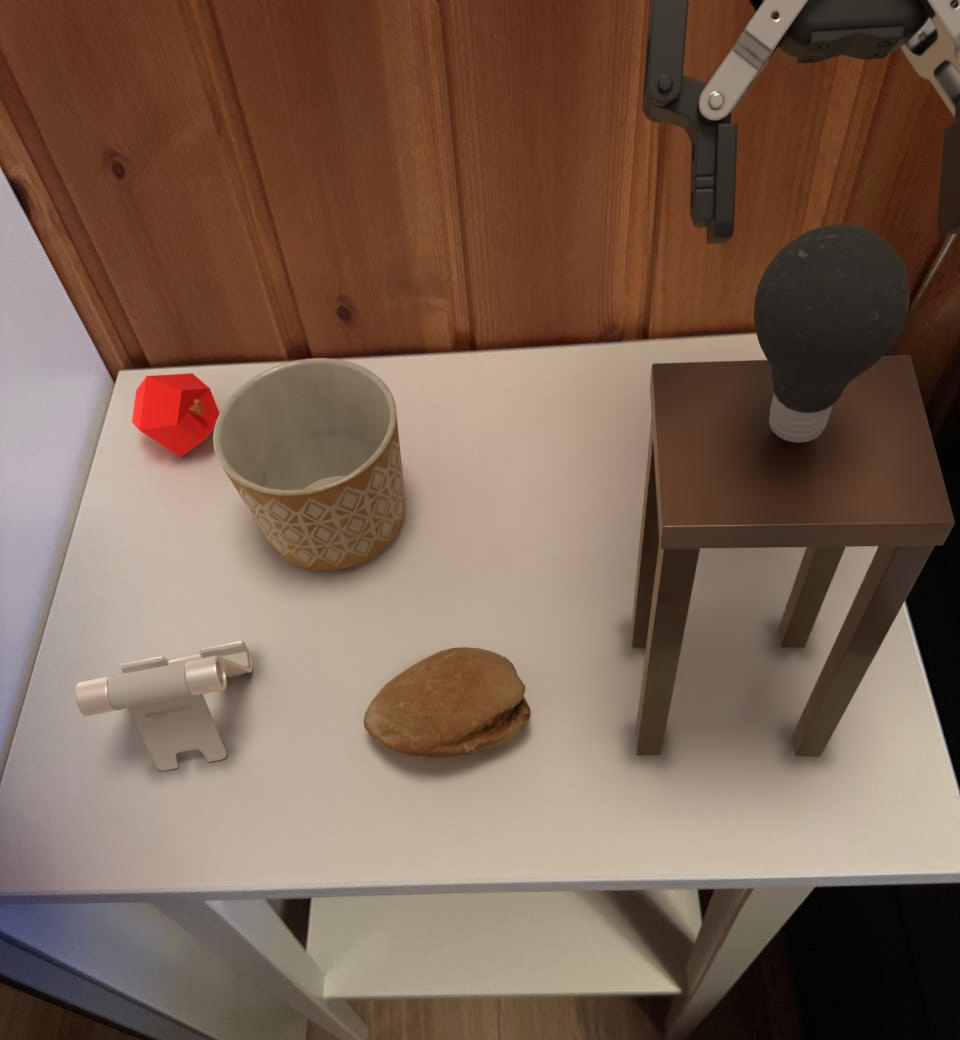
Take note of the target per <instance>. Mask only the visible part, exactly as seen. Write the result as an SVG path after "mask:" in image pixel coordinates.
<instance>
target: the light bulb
mask: <svg viewBox="0 0 960 1040" xmlns="http://www.w3.org/2000/svg"><path fill="white" fill-rule="evenodd" d="M904 263H905V262H903V260H902V258H901V256H900V255H899V253H898V251H897V250H896V249H895V248H894V247H893V246H892V244H890V242H888V241H887V239H885V237H883V235H881V234H879V233H877V232H875V231H873V230H870V229H868V228H865V227H862V226H860V225H855V224H847V223H846V224H845V223H837V224H830V225H822V226H820V227H817V228H814V229H811V230H810V229H809V230H807V231H806V232H804V233H802V234H800V235H799V236H797V237H796V238H794V239H792V240H791V241H790V242H788V243H787V244H786V245H785V246H784V247H782V248H781V249H780V250H779V251H778V252H777V254H775V256H774V257H773V259H772V260H771V261H770V262H769V264H768V265H767V266H766V268H765V270H764V271H763V274H762V276H761V278H760V281H759V283H758V285H757V289H756V294H755V297H754V303H753V304H754V305H753V324H754V329H755V333H756V338H757V342H758V344H759V346H760V349H761V351H762V353H763V354H764V355H763V356H764V357H765V358H766V360H768V362H769V364H770V366H771V369H772V386H773V390H774V394H773V399H772V404H771V407H770V418H769V424H770V427H771V429H772V430H773V432H774V433H775V434H776V435H777V436H779V437H780V438H782V439H784V440H787V441H790V442H807V441H810V440H813V439H815V438H817V437H818V436H819V435H820V434H821V433H822V431H823V429H824V428H825V427H826V425H827V423H828V418H829V416H830V413H831V410H832V406H833V404H834V403H835V402H836V401H837V400H838V399H839V397H840V396H841V394H842V392H843V391H844V389H845V387H846V386H847V385H848V384H849V383H850V382H851V381H852V380H853V379H855V378H856V377H858V376H859V375H860V374H862V373H863V372H865V371H866V370H868V369H869V368H870V367H872V366H873V365H874V364H876V363H877V362H878V361H879V360H880V358H881V357H882V356H885V354H886V353H887V352H888V351H889V350H890V349H891V347H893V344H894V343H895V341H896V340H897V338H898V336H899V334H900V333H901V331H902V330H903V327H904V324H905V322H906V318H907V314H908V311H909V308H910V297H911V290H910V279H909V276H908V273H907V268H906V265H905V264H904Z"/></svg>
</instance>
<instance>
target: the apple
mask: <svg viewBox="0 0 960 1040" xmlns="http://www.w3.org/2000/svg"><path fill="white" fill-rule="evenodd" d="M219 414H220V410H219V408H218V405H217V403H216V400H215V398H214V395H213V392H212V390H211V388H210V387H209V386H208V385H207V384H206V383H205V382H204V381H202V379H200V378H199V377H197V376H196V375H195V373H193V372H189V373H173V374H158V375H157V374H156V375H146V376H145V378H144V379H143V380H142V382H141V383H140V384H139V385H138V386H137V388H136V390H135V396H134V404H133V412H132V418H131V423H132V424H133V425H134V427H136V428H137V429H138V431H139V432H141V433H142V434H144V435H145V436H148V437H149V438H150V439H152V440H153V441H155V442H157V444H159V445H161V446H162V447H164V448H166V449H167V450H169V451H170V452H171V453H173V454H174V455H176V456H178V457H179V458H181V457H183V456H185V455H186V454H188V453H189V452H190V451H192V450H193V449H195V448H196V447H197V446H198V445H200V444H201V443H203V442H204V441H205V440H206V439H207V437H209V435H211V433H212V432H213V431H214V428H215V424H216V421H217V418H218V416H219Z"/></svg>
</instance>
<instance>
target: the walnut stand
mask: <svg viewBox="0 0 960 1040" xmlns="http://www.w3.org/2000/svg"><path fill="white" fill-rule="evenodd" d="M773 394H774V390H773V386H772V369H771V366H770V364H769V362H768V360H767V359H751V360H747V359H746V360H719V361H689V362H686V361H685V362H658V363H657V362H656V363H652V364H651V370H650V382H649V397H650V412H651V417H650V427H649V438H648V448H647V459H646V460H647V461H646V468H645V469H646V470H645V477H644V478H645V480H644V481H645V482H644V489H643V498H642V500H643V501H642V510H641V519H640V530H639V531H640V532H639V540H638V541H639V542H638V550H637V551H638V552H637V560H636V561H637V563H636V572H635V583H634V584H635V585H634V594H633V601H632V602H633V604H632V614H631V625H630V642H631V649H645V653H644V662H643V667H642V677H641V683H640V684H641V686H640V691H639V699H638V709H637V715H636V722H635V723H636V724H635V732H634V736H635V755H636V756H661V755H662V753H663V746H664V742H665V737H666V731H667V727H668V720H669V716H670V711H671V706H672V705H671V704H672V700H673V694H674V690H675V683H676V678H677V673H678V669H679V662H680V658H681V652H682V647H683V643H684V636H685V630H686V626H687V620H688V616H689V610H690V604H691V599H692V594H693V590H694V588H693V587H694V584H695V578H696V572H697V568H698V562H699V558H700V553H701V549H702V550H703V549H770V548H771V549H774V548H775V549H776V548H782V549H783V548H805V550H804V553H803V556H802V559H801V562H800V564H799V567H798V570H797V573H796V576H795V579H794V582H793V585H792V587H791V591H790V593H789V596H788V599H787V602H786V605H785V607H784V610H783V612H782V613H783V614H782V616H781V619H780V621H779V624H778V627H777V628H778V629H777V630H778V637H779V644H780V648H783V649H784V648H785V649H787V648H788V649H790V648H791V649H792V648H794V649H798V648H806V645H807V643H808V641H809V638H810V636H811V633H812V630H813V628H814V626H815V623H816V621H817V619H818V616H819V614H820V611H821V609H822V606H823V604H824V601H825V600H826V596H827V594H828V592H829V589H830V587H831V583H832V582H833V579H834V576H835V574H836V572H837V569H838V567H839V564H840V563H841V560H842V557H843V555H844V553H845V550H846V548H847V547H849V548H850V547H852V548H855V547H857V548H858V547H877V549H876V551H875V553H874V554H873V557H872V560H871V562H870V564H869V566H868V568H867V571H866V573H865V575H864V577H863V580H862V581H861V583H860V585H859V588H858V590H857V592H856V594H855V597H854V599H853V601H852V604H851V605H850V607H849V610H848V612H847V614H846V617H845V618H844V621H843V623H842V625H841V628H840V630H839V632H838V634H837V636H836V637H835V638H836V639H835V641H834V642H833V645H832V647H831V649H830V651H829V654H828V655H827V658H826V660H825V662H824V665H823V666H822V669H821V672H820V674H819V676H818V678H817V680H816V682H815V684H814V687H813V688H812V690H811V693H810V696H809V698H808V699H807V702H806V704H805V706H804V708H803V711H802V713H801V715H800V717H799V719H798V722H797V724H796V726H795V728H794V731H793V732H792V738H793V747H794V753H795V756H796V757H822V755H823V754H824V752H825V750H826V748H827V746H828V744H829V742H830V740H831V738H832V737H833V735H834V733H835V731H836V729H837V727H838V725H839V723H840V722H841V720H842V718H843V716H844V714H845V712H846V710H847V709H848V707H849V705H850V703H851V702H852V700H853V698H854V696H855V694H856V693H857V690H858V689H859V686H860V685H861V683H862V682H863V679H864V678H865V676H866V674H867V672H868V670H869V668H870V666H871V664H872V662H873V661H874V659H875V657H876V655H877V653H878V652H879V650H880V648H881V646H882V644H883V642H884V640H885V639H886V637H887V635H888V633H889V631H890V629H891V628H892V625H893V624H894V622H895V620H896V618H897V616H898V614H899V613H900V611H901V609H902V607H903V605H904V603H905V602H906V601H907V599H908V596H909V594H910V593H911V591H912V589H913V587H914V585H915V583H916V581H917V579H918V578H919V576H920V574H921V572H922V570H923V568H924V566H925V565H926V563H927V561H928V560H929V557H930V555H931V553H932V552H933V550H934V549H935V546H937V547H938V546H943V545H944V544H945V542H946V541H947V538H948V537H949V535H950V533H951V532H952V529H953V528H954V526H955V524H956V522H955V517H954V515H953V510H952V507H951V503H950V499H949V496H948V491H947V488H946V484H945V480H944V477H943V473H942V470H941V469H942V468H941V466H940V462H939V459H938V454H937V451H936V447H935V443H934V439H933V435H932V432H931V428H930V425H929V421H928V417H927V413H926V410H925V406H924V405H925V404H924V402H923V398H922V395H921V391H920V387H919V384H918V379H917V376H916V372H915V368H914V365H913V361H912V357H911V355H909V354H908V355H904V354H903V355H883V356H882V357H881V358H880V360H879V361H878V362H877V363H876V364H874V365H873V366H872V367H870V368H869V369H868V370H866V371H865V372H863V373H862V374H860V375H859V376H858V377H856V378H855V379H853V380H852V381H851V382H850V383H849V384H848V385H847V386H846V387H845V389H844V391H843V392H842V394H841V396H840V397H839V399H838V400H837V401H836V402H835V403H834V404H833V406H832V410H831V413H830V416H829V418H828V423H827V425H826V427H825V428H824V429H823V431H822V433H821V434H820V435H819V436H818V437H817V438H815V439H813V440H810V441H807V442H790V441H787V440H784V439H782V438H780V437H779V436H777V435H776V434H775V433H774V432H773V430H772V429H771V427H770V424H769V418H770V407H771V404H772V399H773Z"/></svg>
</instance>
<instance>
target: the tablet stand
mask: <svg viewBox="0 0 960 1040" xmlns="http://www.w3.org/2000/svg"><path fill="white" fill-rule="evenodd" d="M119 666H120V670H121V672H122V673H120V674H115V675H105V676H100V677H96V678H91V679H87V680H84V681H79V682H78V683H77V684H76V686H75V701H76V706H77V708H78V710H79V712H80V714H81V715H83V716H84V717H90V716H95V715H100V714H106V713H110V712H116V711H122V710H126V709H128V711H129V713H130V716H131V717H132V719H133V721H134V723H135V726H136V728H137V730H138V732H139V734H140V737H141V739H142V740H143V743H144V744H145V747H146V749H147V751H148V753H149V755H150V757H151V759H152V761H153V764H154V766H155V768H156V769H157V770H159V771H164V772H165V771H169V770H175V769H178V768H179V762H178V758H177V754H179V753H184V752H188V751H193V750H199V752H200V753H201V754H202V755H203V756H204V758H205V759H206V761H207V763H211V762H216V761H217V762H218V761H222V760H224V759H226V757H227V755H228V752H227V750H226V747H225V745H224V743H223V740H222V738H221V735H220V733H219V730H218V728H217V726H216V722H215V721H214V718H213V716H212V713H211V711H210V708H209V706H208V703H207V701H206V699H205V696H204V695H206V694H209V693H215V692H221V691H225V690H226V689H227V686H228V685H227V684H228V683H227V681H228V680H227V678H228V677H230V678H233V677H238V676H239V677H240V676H242V675H243V674H249V673H252V671H253V660H252V655H251V651H250V649H249V647H248V646H247V644H246V643H245V642H244V641H243V640H240V641H233V642H229V643H223V644H219V645H212V646H208V647H203V648H202V647H201V648H199V651H198V653H197V654H192V655H187V656H181V657H177V658H172V659H168V658H166V656H164V655H161V656H155V657H150V658H144V659H140V660H139V659H138V660H134V661H129V662H124V663H120V665H119Z"/></svg>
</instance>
